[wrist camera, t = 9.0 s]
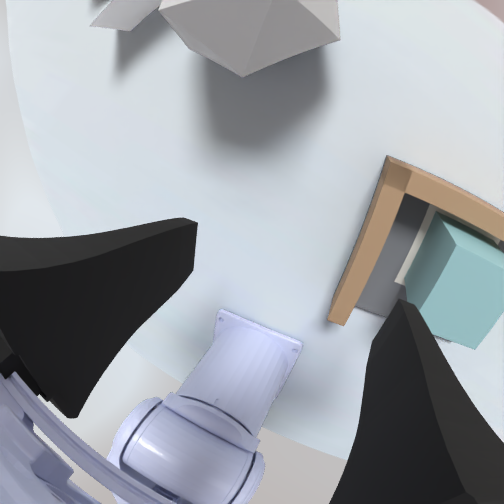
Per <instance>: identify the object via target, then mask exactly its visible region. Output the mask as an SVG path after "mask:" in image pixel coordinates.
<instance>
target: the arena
mask: <svg viewBox="0 0 504 504" xmlns="http://www.w3.org/2000/svg"><path fill="white" fill-rule="evenodd" d="M436 211H437V212H439V213H441V214H444V215H446V216H448V217H450V218H452V219H454V220H456V221H458V222H460V223H462V224H464V225H466V226H468V227H470V228H472V229H473V230H475V231H477V232H479V233H481V234H483V235H485V236H486V237H488V238H490V239H492V240H494V241H495V242H496V244H497V245H498V246H499V247H500V249H501V250H502V251H503V253H504V212H503V211H501V210H499V209H498V208H496V207H494V206H492V205H491V204H489V203H487V202H486V201H484V200H482V199H480V198H478V197H477V196H475V195H473V194H471V193H469V192H467V191H465V190H463V189H462V188H460V187H458V186H456V185H454V184H452V183H450V182H448V181H446V180H443V179H441V178H439V177H437V176H435V175H433V174H431V173H428V172H426V171H424V170H422V169H420V168H417V167H415V166H413V165H410V164H408V163H405V162H403V161H401V160H398V159H396V158H393V157H391V156H388V155H387V156H386V159H385V162H384V166H383V169H382V172H381V175H380V178H379V181H378V184H377V187H376V190H375V193H374V196H373V198H372V201H371V204H370V207H369V210H368V212H367V215H366V218H365V220H364V223H363V226H362V228H361V231H360V234H359V236H358V239H357V241H356V244H355V246H354V249H353V251H352V254H351V256H350V259H349V261H348V263H347V266H346V268H345V271H344V273H343V275H342V278H341V280H340V282H339V284H338V287H337V289H336V291H335V293H334V296H333V300H332V304H331V308H330V311H329V315H328V319H327V320H329V321H331V322H334V323H336V324H339V325H342V326H344V325H345V323H346V321H347V320H348V318H349V316H350V314H351V312H352V310H353V308H354V306H357V307H360V308H362V309H365V310H367V311H370V312H373V313H376V314H378V315H381V316H384V317H386V318H387V317H388V316H389V314H390V313H391V311H392V309H393V308H394V306H395V304H396V302H397V301H398V299H402V300H404V301H407V295H406V287H405V280H404V277H405V275H406V273H407V271H408V269H409V268H410V266H411V264H412V262H413V260H414V258H415V256H416V254H417V252H418V249H419V247H420V245H421V243H422V241H423V239H424V237H425V235H426V232H427V230H428V228H429V226H430V223H431V221H432V219H433V216H434V214H435V212H436ZM432 335H433V334H432ZM435 336H436V335H435ZM438 337H439V336H438ZM441 338H442V337H441ZM446 340H447V339H446ZM449 341H450V340H449Z"/></svg>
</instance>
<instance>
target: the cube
mask: <svg viewBox="0 0 504 504" xmlns="http://www.w3.org/2000/svg"><path fill="white" fill-rule="evenodd" d="M404 280H405V287H406V295H407V302H410V303H412V304H414V305H415V306H416V307H417V309H418V310H419V312H420V313H421V315H422V317H423V318H424V320H425V322H426V324H427V325H428V327H429V329H430V331H431V333H432V334H433V335H436V336H439V337H442V338H444V339H447V340H450V341H452V342H455V343H458V344H461V345H463V346H466V347H469V348H472V349H474V350H475V349H476V348H477V346H478V345H479V344H480V343H481V341H482V340H483V339H484V338H485V336H486V335H487V334H488V332H489V331H490V330H491V328H492V327H493V326H494V324H495V323H496V322H497V320H498V319H499V317H500V316H501V315H502V313H503V312H504V253H503V251H502V250H501V249H500V247H499V246H498V245H497V244H496V242H495V241H494V240H492V239H490V238H488V237H486V236H485V235H483V234H481V233H479V232H477V231H475V230H473V229H472V228H470V227H468V226H466V225H464V224H462V223H460V222H458V221H456V220H454V219H452V218H450V217H448V216H446V215H444V214H441V213H439V212H437V211H436V212H435V214H434V216H433V219H432V221H431V223H430V226H429V228H428V230H427V232H426V235H425V237H424V239H423V241H422V243H421V245H420V247H419V249H418V252H417V254H416V256H415V258H414V260H413V262H412V264H411V266H410V268H409V269H408V271H407V273H406V275H405V277H404Z"/></svg>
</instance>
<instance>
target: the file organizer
mask: <svg viewBox="0 0 504 504" xmlns="http://www.w3.org/2000/svg"><path fill="white" fill-rule="evenodd" d="M161 2H162V0H112V1H111V3H110V4H109V5H108V6H107V7H106V8H105V9H104V10H103V11H102V12H101V13H100V14H99V15H98V17H97V18H96V19H95V20H94V21H93V22H92V23H91V25H90V26H92V27H102V28H110V29H117V30H124V31H131V30H132V29H133V28H135V27H136V26H137V25H138V24H139V23H140V22H141V21H142V20H143V19H144V18H146V17H147V16H148V15H149V14H150V13H151V12H153V11H154V10H155V9H156V8H157V7H159V6H160V5H161Z"/></svg>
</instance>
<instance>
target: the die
mask: <svg viewBox="0 0 504 504" xmlns="http://www.w3.org/2000/svg"><path fill="white" fill-rule="evenodd" d="M158 11H159V12H160V13H161V15H162V16H163V17H164V18H165V19H166V21H167V22H168V23H169V24H170V26H171V27H172V28H173V29H174V31H175V32H176V33H177V34H178V36H179V37H180V38H181V39H182V41H183V42H184V43H185V45H186V46H187V47H188V48H189V49H190V50H192V51H194V52H196V53H198V54H200V55H202V56H204V57H206V58H208V59H210V60H212V61H214V62H216V63H217V64H219V65H221V66H223V67H225V68H227V69H228V70H230V71H232V72H234V73H236V74H237V75H239V76H241V77H242V78H243V77H245V76H247V75H250V74H252V73H254V72H256V71H258V70H261V69H263V68H265V67H268V66H270V65H272V64H275V63H277V62H280V61H282V60H285V59H287V58H290V57H292V56H295V55H297V54H300V53H303V52H306V51H308V50H311V49H314V48H317V47H320V46H323V45H326V44H329V43H332V42H336V41H339V40H340V27H339V13H338V1H337V0H162V2H161V5H160V7H159V9H158Z"/></svg>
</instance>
